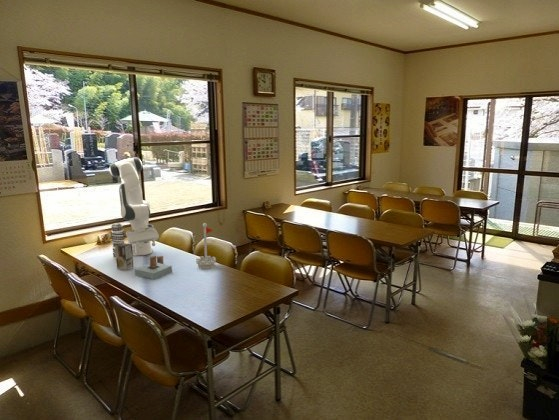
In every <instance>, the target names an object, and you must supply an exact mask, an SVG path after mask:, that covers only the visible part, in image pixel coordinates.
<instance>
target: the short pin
mask: <svg viewBox="0 0 559 420" xmlns="http://www.w3.org/2000/svg"><path fill="white" fill-rule="evenodd" d="M156 263H161V264H164V256H163V255H158V256H156Z"/></svg>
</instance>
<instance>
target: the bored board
mask: <svg viewBox="0 0 559 420" xmlns="http://www.w3.org/2000/svg"><path fill="white" fill-rule="evenodd" d="M156 263H157V262H156ZM172 272H173V266H172V265H170V264H165V263H163V264H161V263H157V268H156V269H150V263H147V264H144V265H142V266H139V267H137V268H135V269H134V273H135V274H134V275H135V276H137V277H141V278H146V279H151V280H156V279H158V278H160V277H162V276H165V275H168V274H170V273H172Z"/></svg>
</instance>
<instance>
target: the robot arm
mask: <svg viewBox="0 0 559 420" xmlns="http://www.w3.org/2000/svg"><path fill="white" fill-rule="evenodd" d="M142 170H143V162H142V161H141V159H140V158H139V157H131V158H126V159H122V160H119V161H116V162H112V163H110V164H109V170H108V171H109V173H110V174H111V176H112V177H113V178H120V181H121V184H120V185H119V187H118V188H119V189H118V192H119V193H118V194H119V202H120V216H121V217H122V219H123V220H125V221H127V222H129V224H130V226H131V229H132V230H127V231H126V232H125V236H126V238H127V241H128V243H126V244H132V254H133V257H135V256H136V257H137V256H145V255H146V256H147V255H149V254H152V253H153V247H155V246H156V243H155V242H156V241H157V240H158V239H159V237H160V235H159V233H158V231H157V229H156V228H154V225H153V224H149V222H150V220H149V219H150V216H151V210H150V208H151V206H150V202H148V201H147V200H144V198H143V190H142V187H141V184H140V178H139V175H138V174H139V173H140V172H141V171H142ZM151 242H152V243H151Z"/></svg>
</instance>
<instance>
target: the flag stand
mask: <svg viewBox="0 0 559 420" xmlns="http://www.w3.org/2000/svg"><path fill="white" fill-rule="evenodd" d="M207 226H208V224H207V223H206V222H203V224H202V227H203V242H204V245H203V246H204V247H203V248H204V256H202V255H201V256H200V257H197V258H196V259H195V263H196V264H197V268H198V267H199V268H198V269H200V268H201V270H210V269H212V268H213V269H214V267H215V264H216V262H217V258H216V257H215V256H211V255H208V249H207V248H208V246H207V243H208V241H207V234H208V233H210V232H212V231H213V229H211V228H208V227H207Z"/></svg>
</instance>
